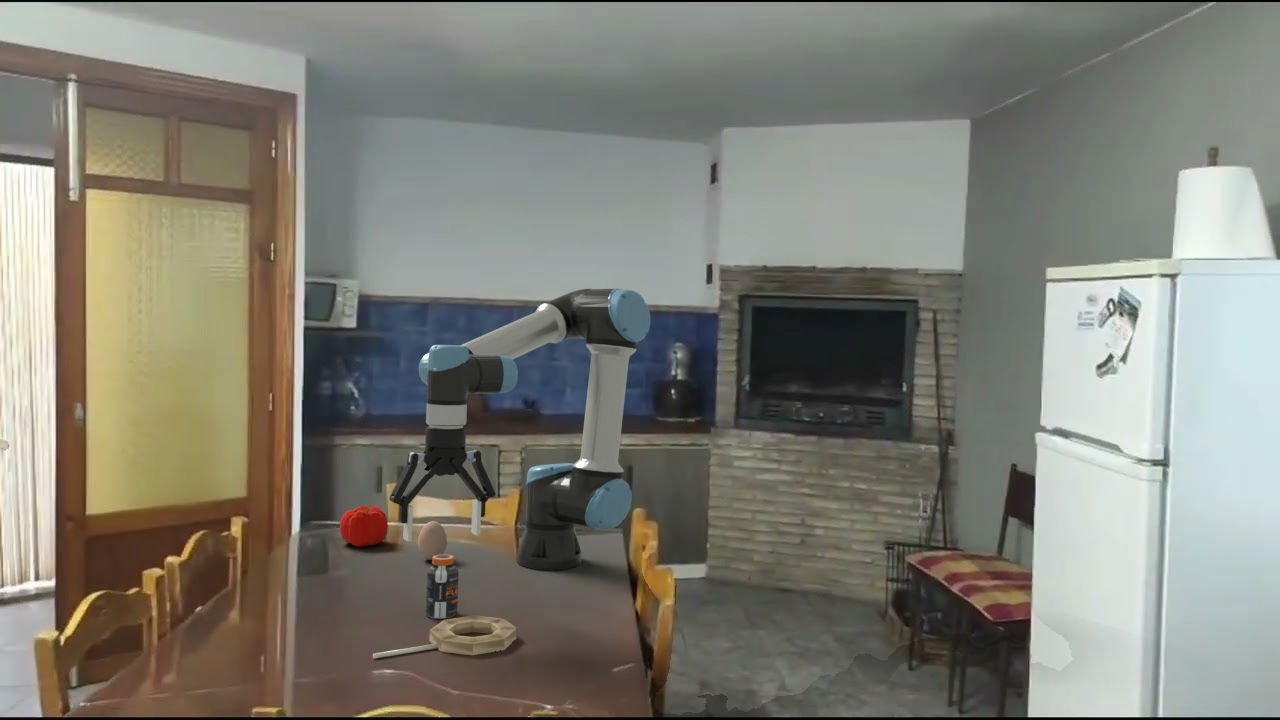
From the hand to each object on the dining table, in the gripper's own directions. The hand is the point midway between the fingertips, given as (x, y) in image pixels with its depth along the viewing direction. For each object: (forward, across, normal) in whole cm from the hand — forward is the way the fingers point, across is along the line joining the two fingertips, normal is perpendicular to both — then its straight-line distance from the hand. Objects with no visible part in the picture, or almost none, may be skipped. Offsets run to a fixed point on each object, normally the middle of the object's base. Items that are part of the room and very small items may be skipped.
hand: (442, 537), depth 179 cm
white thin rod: (+15, +12, +17) cm, 26 cm away
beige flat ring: (+15, 0, +16) cm, 22 cm away
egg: (+15, -12, -39) cm, 44 cm away
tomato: (+15, -2, -60) cm, 62 cm away
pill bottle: (+15, 0, 0) cm, 15 cm away
